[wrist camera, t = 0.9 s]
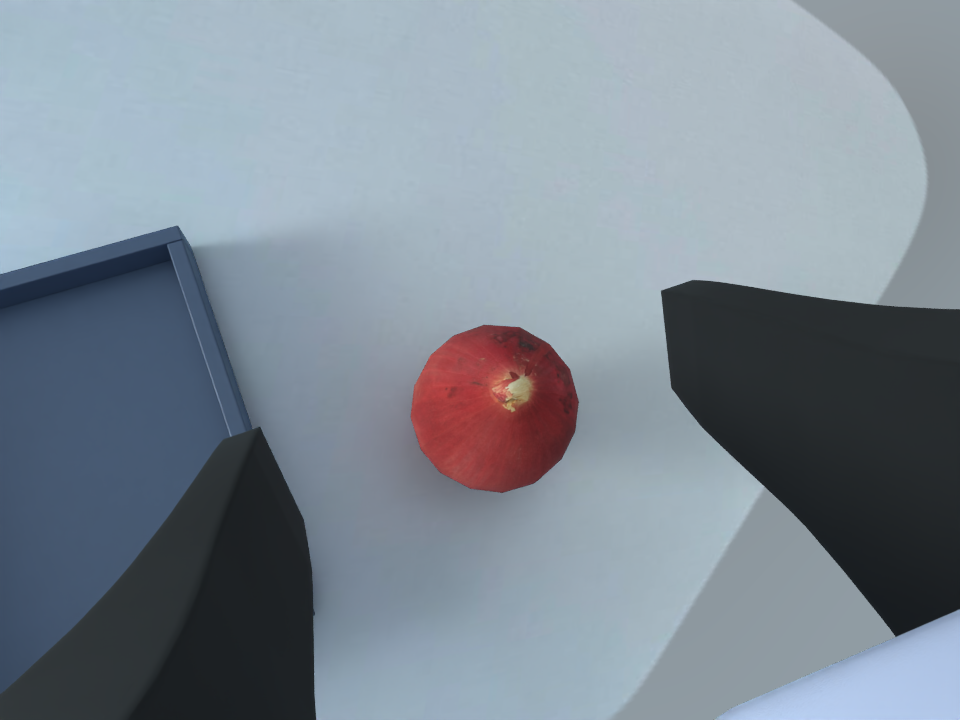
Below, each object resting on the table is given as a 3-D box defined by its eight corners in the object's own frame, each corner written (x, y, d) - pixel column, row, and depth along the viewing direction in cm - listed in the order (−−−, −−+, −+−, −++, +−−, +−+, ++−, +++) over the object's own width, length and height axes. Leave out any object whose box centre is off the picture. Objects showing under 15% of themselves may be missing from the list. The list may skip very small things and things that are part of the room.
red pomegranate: (448, 329, 28) (479, 255, 21) (570, 395, 29) (644, 345, 21) (380, 453, 27) (385, 422, 19) (509, 522, 27) (566, 519, 19)
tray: (315, 614, 25) (311, 621, 23) (-85, 784, 22) (-128, 809, 20) (190, 245, 28) (177, 224, 26) (-184, 352, 24) (-231, 337, 23)
